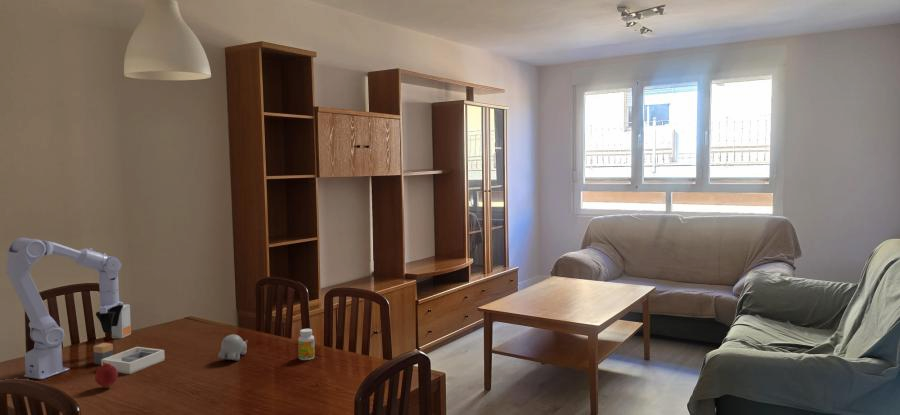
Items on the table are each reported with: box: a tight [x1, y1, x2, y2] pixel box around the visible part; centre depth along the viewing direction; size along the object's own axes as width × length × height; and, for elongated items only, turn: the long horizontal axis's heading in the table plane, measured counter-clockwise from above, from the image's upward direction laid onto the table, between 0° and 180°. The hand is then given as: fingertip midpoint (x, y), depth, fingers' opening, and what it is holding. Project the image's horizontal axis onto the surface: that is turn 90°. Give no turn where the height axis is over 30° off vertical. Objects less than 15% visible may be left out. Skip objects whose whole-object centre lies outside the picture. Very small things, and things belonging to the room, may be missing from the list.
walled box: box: [101, 346, 166, 375], centre depth 193 cm, size 14×12×4 cm
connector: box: [93, 342, 114, 366], centre depth 196 cm, size 4×4×6 cm
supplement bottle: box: [297, 328, 316, 361], centre depth 199 cm, size 5×5×10 cm
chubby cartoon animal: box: [217, 333, 248, 362], centre depth 200 cm, size 7×12×8 cm, turn 163°
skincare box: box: [111, 303, 132, 339], centre depth 226 cm, size 6×4×12 cm
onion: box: [94, 362, 119, 389], centre depth 173 cm, size 6×6×8 cm
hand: (110, 328), depth 202 cm, fingers open, 7 cm apart
